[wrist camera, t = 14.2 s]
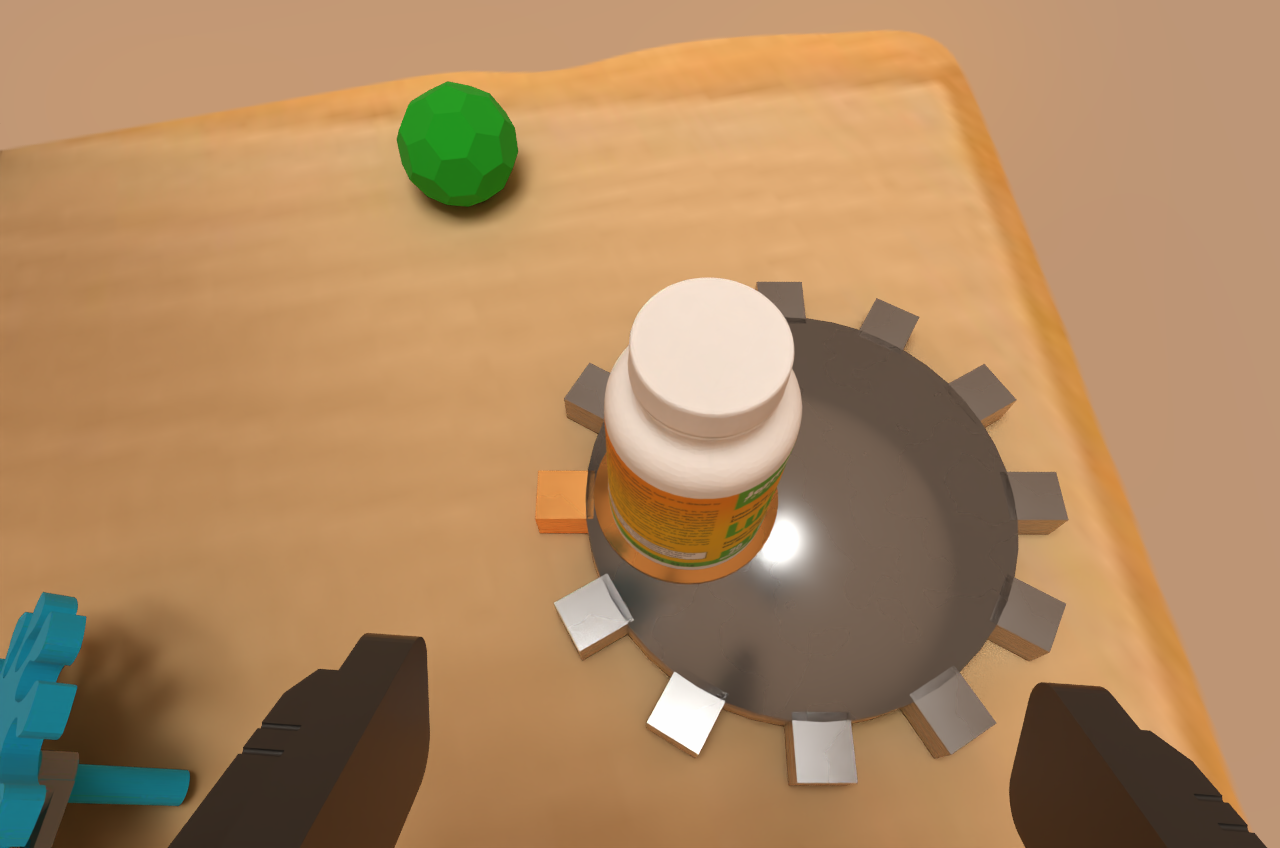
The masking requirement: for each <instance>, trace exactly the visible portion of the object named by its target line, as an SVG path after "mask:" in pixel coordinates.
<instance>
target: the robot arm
mask: <svg viewBox="0 0 1280 848" xmlns="http://www.w3.org/2000/svg"><path fill="white" fill-rule="evenodd" d="M429 741H430V725H429V698H428V671H427V649H426V644H425V641H424V639H423V638H422V637H416V636H401V635H387V634H373V633H366V634H364V635H363V636H362V637H361V638H360V640H359V641H358V642H357V644H356V645H355V647H354V648H353V650H352V651H351V653H350V654H349V656H348V657H347V659H346V660H345V662H344V663H343V665H342V666H341V668H340V669H339V670H326V669H318V670H317V671H315V672H314V673H312V674H311V675H309V676H308V677H306V678H305V679H304V680H302V681H301V682H299V683H298V684H296V685H295V686H293V687H292V688H291V689H289V690H288V691H286V692H285V693H284V694H283V695H282V696H281V698H280V699H279V700H278V702H277V703H276V704H275V706H274V707H273V708H272V710H271V711H270V712H269V714H268V715H267V716H266V718H265V719H264V720H263V722H262V726H261V729H260V728H257V730H256V731H255V732H254V734H253V735H252V736H251V738H250V739H249V740H248V742H247V743H246V744H245V746H244V747H243V752H242V754H238V755H237V756H236V758H235V759H234V760H233V762H232V763H231V764H230V766H229V767H228V768H227V770H226V771H225V772H224V774H223V775H222V776H221V778H220V779H219V780H218V782H217V783H216V784H215V786H214V787H213V788H212V790H211V791H210V792H209V794H208V795H207V796H206V798H205V799H204V800H203V802H202V803H201V804H200V806H199V807H198V808H197V810H196V811H195V812H194V814H193V815H192V816H191V818H190V819H189V820H188V822H187V823H186V824H185V826H184V827H183V828H182V830H181V831H180V832H179V834H178V835H177V836H176V838H175V839H174V840H173V842H172V843H171V844H170V845H169V847H168V848H394V847H395V845H396V842H397V840H398V837H399V835H400V833H401V830H402V828H403V825H404V823H405V821H406V818H407V816H408V814H409V811H410V809H411V806H412V804H413V802H414V799H415V797H416V794H417V792H418V790H419V787H420V785H421V782H422V779H423V776H424V772H425V768H426V763H427V758H428V751H429ZM1009 796H1010V806H1011V812H1012V817H1013V820H1014V824H1015V827H1016V829H1017V832H1018V834H1019V836H1020V838H1021V840H1022V842H1023V844H1024V846H1025V848H1267V847H1266V846H1265V845H1264V844H1263V843H1262V841H1261V840H1260V839H1259V838H1258V837H1257V835H1256V834H1255V833H1249V831H1248V828H1247V826H1248V825H1247V824H1246V823H1245V822H1244V820H1243V819H1242V818H1241V817H1240V816H1239V815H1238V814H1237V812H1236V811H1235V810H1234V809H1233V808H1232V807H1231V805H1230V804H1229V803H1224V802H1223V800H1222V795H1221V794H1220V793H1219V792H1218V790H1217V789H1216V788H1215V787H1214V786H1213V785H1212V783H1211V782H1210V781H1209V780H1208V779H1207V778H1206V777H1205V775H1204V774H1203V773H1202V772H1201V771H1200V770H1199V768H1198V767H1197V766H1196V765H1195V764H1194V763H1193V762H1192V761H1191V760H1190V759H1188V758H1187V757H1186V756H1184V755H1183V754H1182V753H1180V752H1179V751H1177V750H1176V749H1175V748H1173V747H1172V746H1171V745H1169V744H1168V743H1166V742H1165V741H1164V740H1162V739H1161V738H1159V737H1158V736H1157V735H1155V734H1154V733H1153V732H1151V731H1147V730H1140V729H1139V727H1138V726H1137V725H1136V724H1135V722H1134V721H1133V720H1132V719H1131V718H1130V716H1129V715H1128V714H1127V713H1126V712H1125V710H1124V709H1123V708H1122V707H1121V705H1120V704H1119V703H1118V702H1117V701H1116V699H1115V698H1114V697H1113V696H1112V695H1111V693H1110V692H1109V691H1108V690H1106V689H1105V688H1103V687H1100V686H1086V685H1072V684H1058V683H1042V682H1041V683H1038V684H1037V685H1036V686H1035V687H1034V688H1033V690H1032V692H1031V694H1030V698H1029V701H1028V706H1027V710H1026V714H1025V718H1024V723H1023V727H1022V731H1021V735H1020V739H1019V744H1018V748H1017V752H1016V756H1015V760H1014V765H1013V769H1012V773H1011V778H1010V786H1009Z"/></svg>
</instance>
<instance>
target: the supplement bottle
mask: <svg viewBox="0 0 1280 848" xmlns="http://www.w3.org/2000/svg"><path fill="white" fill-rule="evenodd" d="M793 362H794V342H793V336H792V333H791V330H790V327H789V325H788V323H787V321H786V319H785V318H784V316H783V315H782V313H781V312H780V310H779V309H778V308H777V307H776V306H775V305H774V304H773V303H772V302H771V301H770V300H769V299H768V298H766V297H765V296H764V295H763V294H761V293H760V292H758V291H756V290H754V289H753V288H751V287H749V286H746V285H744V284H741V283H739V282H736V281H732V280H727V279H722V278H696V279H688V280H684V281H681V282H678V283H675V284H672V285H670V286H668V287H666V288H664V289H663V290H661V291H659V292H658V293H656V294H655V295H654V296H653V297H651V298H650V299H649V300H648V301H647V303H646V304H645V305H644V306H643V307H642V308H641V310H640V311H639V313H638V315H637V316H636V318H635V320H634V323H633V326H632V329H631V332H630V340H629V345H628V346H627V348H626V349H625V350H624V351H623V352H622V354H621V355H620V356H619V358H618V359H617V361H616V363H615V364H614V366H613V368H612V370H611V373H610V376H609V378H608V382H607V386H606V391H605V399H604V421H605V435H606V451H607V470H608V491H609V500H610V507H611V511H612V515H613V518H614V521H615V523H616V525H617V527H618V529H619V531H620V532H621V534H622V536H623V537H624V538H625V540H626V541H627V542H628V543H629V544H630V545H631V546H632V547H633V548H634V549H635V550H636V551H638V552H639V553H640V554H642V555H643V556H645V557H646V558H648V559H649V560H651V561H653V562H655V563H658V564H660V565H663V566H666V567H670V568H675V569H683V570H698V569H705V568H710V567H714V566H717V565H719V564H722V563H724V562H726V561H728V560H730V559H731V558H733V557H735V556H736V555H737V554H739V553H740V552H741V551H742V550H743V549H744V548H745V547H746V546H747V545H748V544H749V543H750V542H751V541H752V539H753V538H754V536H755V535H756V533H757V531H758V530H759V528H760V526H761V524H762V522H763V519H764V517H765V515H766V512H767V510H768V507H769V505H770V502H771V500H772V498H773V495H774V493H775V490H776V488H777V486H778V484H779V481H780V479H781V476H782V474H783V471H784V469H785V466H786V464H787V461H788V459H789V456H790V454H791V452H792V450H793V447H794V445H795V442H796V440H797V435H798V432H799V428H800V423H801V417H802V400H801V392H800V388H799V384H798V381H797V378H796V376H795V373H794V371H793V369H792V366H793Z"/></svg>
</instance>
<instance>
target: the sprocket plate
mask: <svg viewBox="0 0 1280 848" xmlns="http://www.w3.org/2000/svg"><path fill="white" fill-rule="evenodd" d="M755 290H756V291H758V292H760V293H761V294H763V295H764V296H765V297H766V298H768V299H769V300H770V301H771V302H772V303H773V304H774V305H775V306H776V307H777V308H778V309H779V310H780V312H781V313H782V315H783V316H784V318H785V319H786V321H787V323H788V325H789V327H790V330H791V333H792V336H793V342H794V362H793V366H792V369H793V371H794V373H795V376H796V378H797V381H798V384H799V388H800V392H801V400H802V417H801V423H800V428H799V432H798V435H797V440H796V442H795V445H794V447H793V450H792V452H791V454H790V456H789V459H788V461H787V464H786V466H785V469H784V471H783V474H782V476H781V479H780V481H779V484H778V486H777V488H776V490H775V493H774V495H773V498H772V500H771V502H770V505H769V507H768V510H767V512H766V515H765V517H764V519H763V522H762V524H761V526H760V528H759V530H758V531H757V533H756V535H755V536H754V538H753V539H752V541H751V542H750V543H749V544H748V545H747V546H746V547H745V548H744V549H743V550H742V551H741V552H740V553H739V554H737V555H736V556H735V557H733V558H731V559H730V560H728V561H726V562H724V563H722V564H719V565H717V566H714V567H710V568H705V569H698V570H683V569H675V568H670V567H666V566H663V565H660V564H658V563H655V562H653V561H651V560H649V559H648V558H646V557H645V556H643V555H642V554H640V553H639V552H638V551H636V550H635V549H634V548H633V547H632V546H631V545H630V544H629V543H628V542H627V541H626V540H625V538H624V537H623V536H622V534H621V532H620V531H619V529H618V527H617V525H616V523H615V521H614V518H613V515H612V511H611V507H610V500H609V491H608V470H607V451H606V435H605V421H604V399H605V391H606V386H607V382H608V378H609V376H610V373H609V372H607V371H605V370H603V369H601V368H599V367H597V366H595V365H593V364H591V363H589V364H588V366H587V367H586V368H585V370H584V371H583V373H582V374H581V376H580V377H579V378H578V380H577V381H576V383H575V384H574V385H573V387H572V388H571V390H570V391H569V392H568V394H567V395H566V397H565V398H564V401H565V407H566V413H567V417H568V418H570V419H571V420H573V421H575V422H577V423H579V424H581V425H583V426H585V427H587V428H589V429H590V430H592V431H594V432H596V433H598V436H597V439H596V441H595V444H594V448H593V452H592V456H591V460H590V464H589V468H588V471H538V485H537V501H536V516H535V519H536V522H537V525H538V528H539V532H540V533H588V534H589V540H590V545H591V551H592V556H593V562H594V565H595V568H596V571H597V574H598V577H599V578H598V579H596V580H594V581H592V582H591V583H589V584H587V585H585V586H583V587H582V588H580V589H578V590H576V591H574V592H573V593H571V594H569V595H567V596H565V597H564V598H562V599H560V600H558V601H556V602H555V603H554V605H555V608H556V610H557V613H558V615H559V617H560V619H561V621H562V623H563V625H564V627H565V628H566V630H567V632H568V634H569V636H570V638H571V640H572V642H573V644H574V645H575V647H576V649H577V651H578V653H579V655H580V657H581V659H582V660H584V659H586V658H587V657H589V656H591V655H593V654H594V653H596V652H598V651H599V650H601V649H603V648H605V647H606V646H608V645H610V644H612V643H613V642H615V641H617V640H618V639H620V638H622V637H624V636H625V635H627V634H628V635H629V636H630V637H631V639H632V640H633V641H634V642H635V643H636V644H637V646H638V647H639V648H640V649H641V650H642V651H643V653H644V654H645V655H646V656H647V657H648V658H649V659H650V660H651V661H652V662H653V663H654V664H655V665H656V666H658V667H659V668H660V669H661V670H662V671H663V672H664V673H665V674H667V675H668V676H669V677H670V678H671V679H670V681H669V683H668V684H667V686H666V688H665V690H664V692H663V694H662V696H661V697H660V699H659V701H658V703H657V705H656V707H655V708H654V710H653V712H652V714H651V716H650V718H649V719H648V721H647V726H646V728H647V729H648V730H650V731H652V732H653V733H655V734H657V735H658V736H660V737H661V738H663V739H665V740H666V741H668V742H670V743H671V744H673V745H674V746H676V747H678V748H679V749H681V750H683V751H684V752H686V753H687V754H689V755H691V756H692V757H694V758H696V757H697V756H698V754H699V752H700V750H701V748H702V746H703V744H704V742H705V740H706V738H707V737H708V735H709V733H710V731H711V729H712V727H713V725H714V723H715V721H716V719H717V717H718V715H719V713H720V711H721V709H724V710H727V711H729V712H732V713H735V714H738V715H741V716H744V717H746V718H749V719H752V720H757V721H762V722H766V723H771V724H776V725H781V726H784V729H785V743H786V756H787V769H788V782H789V785H850V784H855V783H858V781H857V772H856V763H855V754H854V745H853V736H852V727H851V724H853V723H857V722H862V721H867V720H871V719H874V718H877V717H879V716H882V715H885V714H887V713H890V712H893V711H895V710H898V709H901V710H902V712H903V713H904V715H905V716H906V718H907V719H908V721H909V722H910V724H911V725H912V727H913V728H914V729H915V731H916V732H917V734H918V735H919V737H920V738H921V740H922V741H923V743H924V744H925V745H926V747H927V748H928V750H929V751H930V753H931V754H932V756H933V757H934V759H935V758H939V757H943V756H948V755H951V754H953V753H954V752H956V751H957V750H959V749H960V748H961V747H963V746H964V745H966V744H967V743H969V742H970V741H972V740H973V739H974V738H976V737H977V736H979V735H980V734H982V733H983V732H985V731H986V730H987V729H989V728H990V727H992V726H993V725H995V724H996V722H995V720H994V719H993V718H992V716H991V715H990V714H989V712H988V711H987V709H986V708H985V707H984V705H983V704H982V703H981V701H980V700H979V699H978V697H977V696H976V694H975V693H974V692H973V690H972V689H971V688H970V686H969V685H968V684H967V682H966V681H965V679H964V678H963V677H962V675H961V674H960V673H959V672H960V671H961V670H962V669H963V668H964V667H965V666H966V665H967V663H968V662H969V661H970V660H971V659H972V658H973V657H974V656H975V655H976V654H977V653H978V652H979V651H980V649H981V648H982V646H983V645H984V643H985V642H986V640H987V639H988V640H990V641H992V642H994V643H996V644H998V645H1000V646H1001V647H1003V648H1005V649H1007V650H1009V651H1011V652H1013V653H1015V654H1017V655H1019V656H1020V657H1022V658H1024V659H1026V660H1028V661H1031V660H1033V659H1035V658H1038V657H1040V656H1042V655H1045V654H1047V653H1049V652H1050V650H1051V647H1052V644H1053V641H1054V638H1055V635H1056V632H1057V629H1058V626H1059V624H1060V621H1061V618H1062V615H1063V612H1064V609H1065V606H1066V604H1065V603H1063V602H1061V601H1059V600H1057V599H1055V598H1053V597H1051V596H1049V595H1048V594H1046V593H1044V592H1042V591H1040V590H1038V589H1036V588H1034V587H1032V586H1030V585H1028V584H1026V583H1024V582H1022V581H1020V580H1018V579H1016V578H1014V577H1015V570H1016V563H1017V555H1018V534H1049V533H1051V532H1052V531H1054V530H1055V529H1056V528H1058V527H1059V526H1061V525H1062V524H1063V523H1065V522H1066V521H1068V517H1067V513H1066V509H1065V505H1064V501H1063V497H1062V493H1061V489H1060V486H1059V482H1058V478H1057V474H1056V472H1007V471H1006V469H1005V466H1004V464H1003V462H1002V460H1001V457H1000V455H999V453H998V450H997V448H996V446H995V444H994V442H993V441H992V439H991V437H990V436H989V434H988V432H987V431H986V429H985V427H986V426H988V425H990V424H992V423H993V422H995V421H997V420H998V419H1000V418H1001V417H1002V416H1003V415H1004V414H1005V412H1006V411H1007V410H1008V409H1009V408H1010V407H1011V406H1012V405H1013V403H1014V402H1015V401H1016V399H1015V398H1014V396H1013V395H1012V394H1011V393H1010V392H1009V391H1008V390H1007V389H1006V388H1005V386H1004V385H1003V384H1002V383H1001V382H1000V381H999V380H998V379H997V378H996V376H995V375H994V374H993V373H992V372H991V371H990V370H989V369H988V368H987V366H986V365H985V364H983V365H982V366H980V367H978V368H976V369H974V370H973V371H971V372H969V373H967V374H965V375H964V376H962V377H960V378H958V379H956V380H955V381H953V382H951V383H949V384H948V383H947V382H946V381H945V380H943V379H942V378H941V377H940V376H939V375H937V374H936V373H935V372H934V371H933V370H931V369H930V368H929V367H928V366H927V365H925V364H924V363H922V362H921V361H919V360H918V359H916V358H915V357H913V356H911V355H910V354H908V353H907V352H905V351H904V350H903V349H904V347H905V345H906V343H907V341H908V339H909V337H910V335H911V333H912V331H913V329H914V327H915V325H916V323H917V321H918V319H919V317H918V316H916V315H913V314H911V313H909V312H907V311H904V310H902V309H900V308H898V307H895V306H893V305H891V304H889V303H886V302H884V301H882V300H879V299H876V300H875V302H874V304H873V306H872V308H871V310H870V312H869V313H868V315H867V317H866V319H865V321H864V323H863V324H862V326H861V328H860V330H857V329H854V328H850V327H847V326H843V325H839V324H836V323H832V322H826V321H820V320H814V319H808V318H806V317H805V308H804V299H803V290H802V282H757V284H756V288H755Z"/></svg>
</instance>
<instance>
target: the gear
mask: <svg viewBox="0 0 1280 848" xmlns="http://www.w3.org/2000/svg"><path fill="white" fill-rule="evenodd" d="M77 610H78V602H77V599H76V598H75V597H69V596H63V595H57V594H51V593H45V592H43V593H42V595H41V596H40V598H39V600H38V603H37V605H36V607H35V610H34V612H33V613H29V612H25V613H24V614H23V615H22V616H21V617H20V618H19V620H18V622H17V625H16V627H15V630H14V632H13V635H12V639H11V642H10V646H9V649H8V653H7V656H6V659H1V658H0V848H10V847H20V848H52V845H53V842H54V839H55V837H56V834H57V831H58V828H59V825H60V822H61V820H62V817H63V814H64V811H65V808H66V805H67V803H93V804H128V805H163V806H179V805H180V804H181V803H182V802H183V800H184V798H185V796H186V793H187V790H188V787H189V781H190V773H189V771H188V770H178V769H160V768H142V767H124V766H106V765H88V764H79V753H78V752H67V751H51V750H40V749H41V746H42V743H43V740H44V739H50V740H58V739H59V738H60V737H61V735H62V734H63V731H64V729H65V726H66V723H67V720H68V717H69V714H70V711H71V708H72V704H73V701H74V697H75V694H76V690H77V685H74V684H65V683H56V681H57V678H58V676H59V674H60V672H61V670H62V668H63V667H64V666H65V665H68V666H70V665H71V664H72V663H73V662H74V660H75V659H76V657H77V655H78V653H79V651H80V649H81V645H82V641H83V636H84V631H85V625H86V616H80V615H76V613H77Z"/></svg>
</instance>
